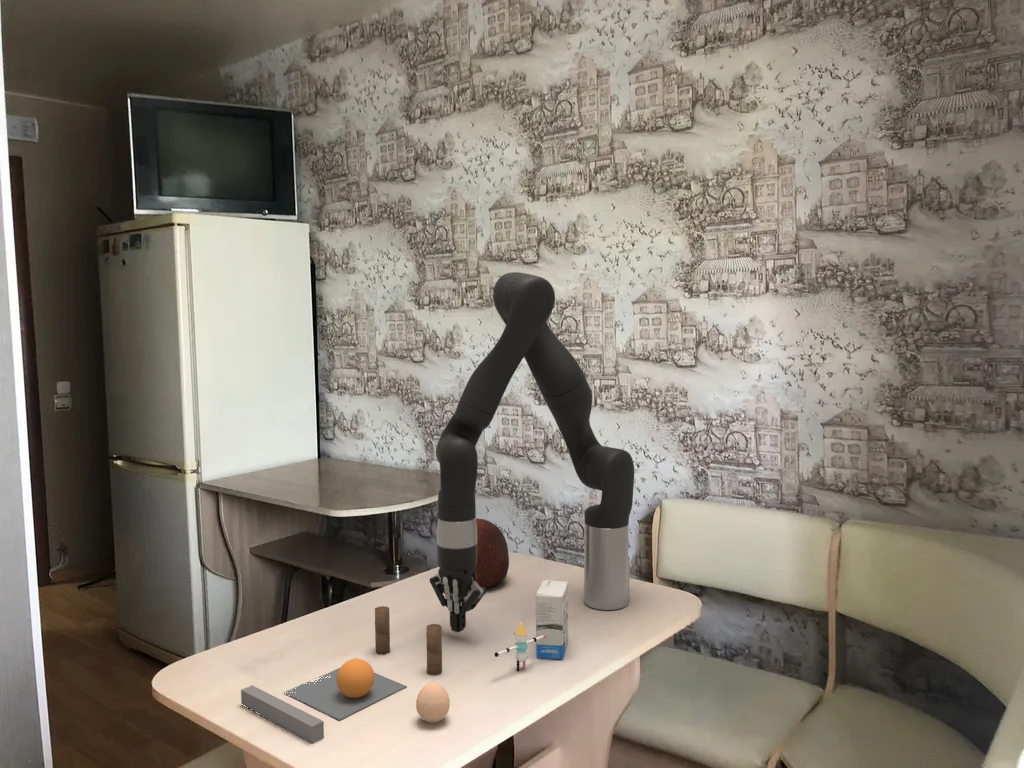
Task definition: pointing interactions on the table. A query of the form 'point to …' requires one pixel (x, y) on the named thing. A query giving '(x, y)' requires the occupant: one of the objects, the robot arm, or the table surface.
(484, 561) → the figurine
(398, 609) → the table surface
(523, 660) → the toy figure
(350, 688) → the ball
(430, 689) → the egg
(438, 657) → the post
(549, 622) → the ink box
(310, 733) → the wall
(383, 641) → the post
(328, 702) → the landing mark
